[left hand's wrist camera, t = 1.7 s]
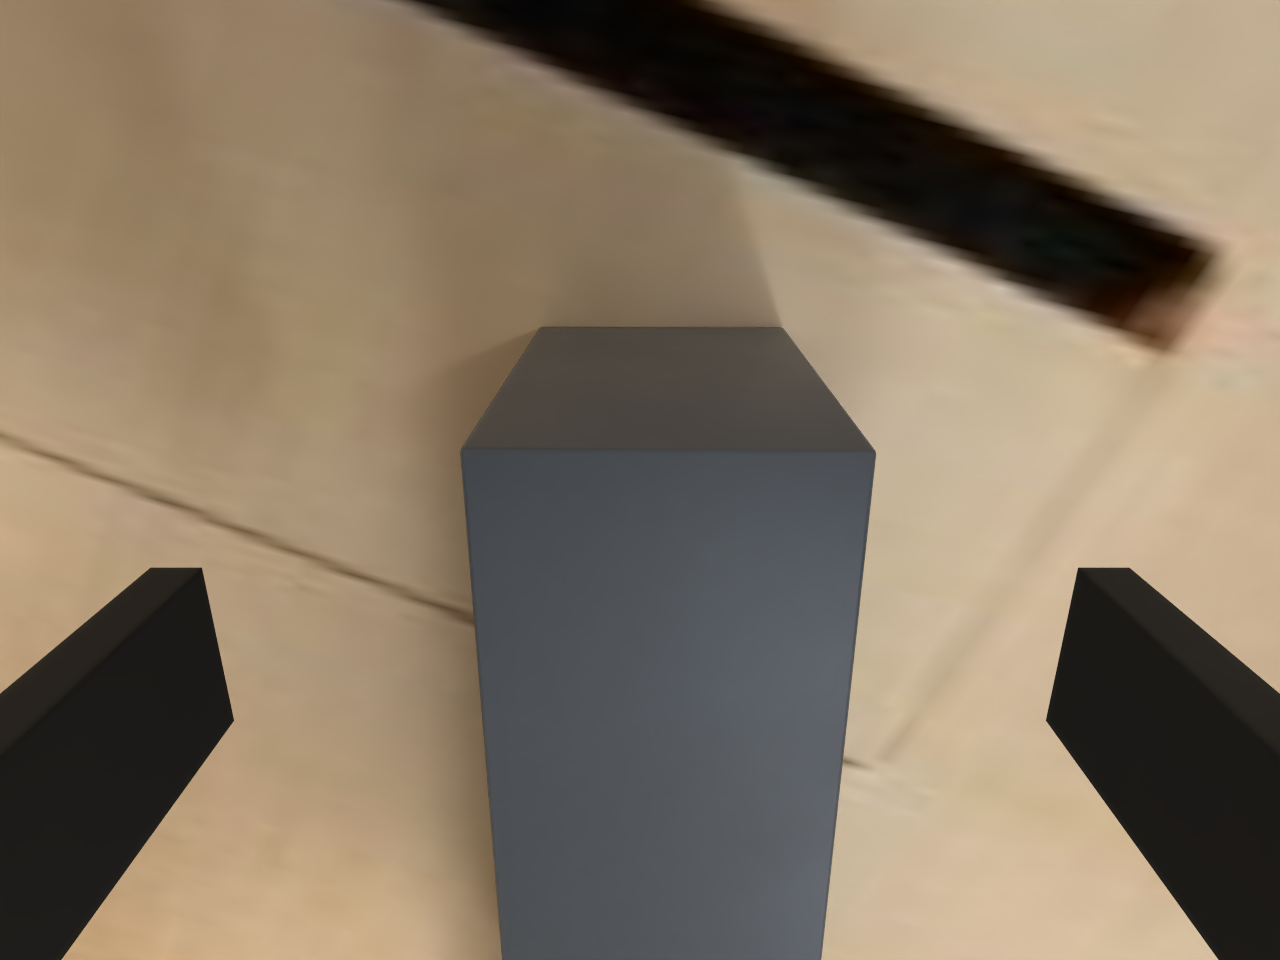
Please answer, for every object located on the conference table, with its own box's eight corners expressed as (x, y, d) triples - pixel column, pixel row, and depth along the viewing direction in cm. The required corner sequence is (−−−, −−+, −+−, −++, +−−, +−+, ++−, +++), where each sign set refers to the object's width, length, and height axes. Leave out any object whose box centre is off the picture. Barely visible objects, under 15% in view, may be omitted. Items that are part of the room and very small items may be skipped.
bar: (539, 326, 19) (458, 448, 11) (784, 326, 19) (877, 450, 11) (569, 1025, 28) (536, 1380, 20) (740, 1027, 28) (776, 1384, 20)
